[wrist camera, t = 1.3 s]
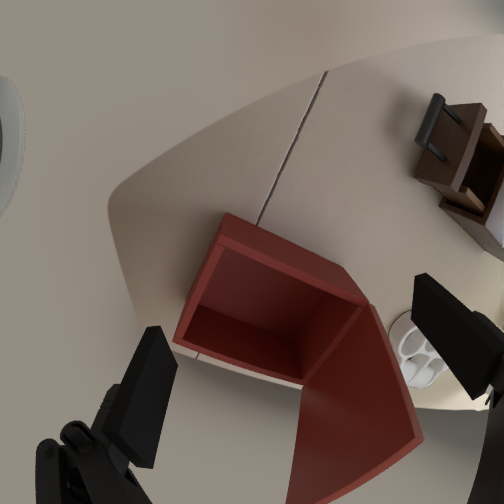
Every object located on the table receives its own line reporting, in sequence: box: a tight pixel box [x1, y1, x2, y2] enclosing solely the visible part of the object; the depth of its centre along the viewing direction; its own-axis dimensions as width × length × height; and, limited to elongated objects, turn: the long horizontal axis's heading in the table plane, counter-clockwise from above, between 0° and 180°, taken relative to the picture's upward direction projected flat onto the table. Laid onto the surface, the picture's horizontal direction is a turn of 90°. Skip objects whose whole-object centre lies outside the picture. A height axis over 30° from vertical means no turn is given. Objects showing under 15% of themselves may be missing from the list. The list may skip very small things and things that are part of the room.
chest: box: [172, 212, 369, 385], centre depth 28 cm, size 15×12×8 cm
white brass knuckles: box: [389, 311, 449, 389], centre depth 35 cm, size 3×18×15 cm
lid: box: [285, 303, 424, 504], centre depth 18 cm, size 16×12×1 cm
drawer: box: [413, 93, 504, 218], centre depth 23 cm, size 17×10×7 cm, turn 64°
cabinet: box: [439, 135, 504, 262], centre depth 24 cm, size 14×12×9 cm
